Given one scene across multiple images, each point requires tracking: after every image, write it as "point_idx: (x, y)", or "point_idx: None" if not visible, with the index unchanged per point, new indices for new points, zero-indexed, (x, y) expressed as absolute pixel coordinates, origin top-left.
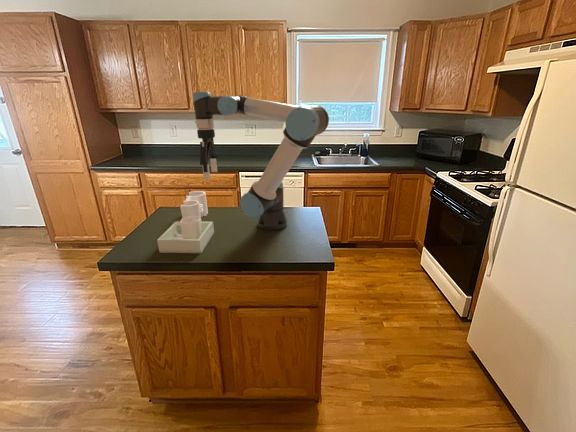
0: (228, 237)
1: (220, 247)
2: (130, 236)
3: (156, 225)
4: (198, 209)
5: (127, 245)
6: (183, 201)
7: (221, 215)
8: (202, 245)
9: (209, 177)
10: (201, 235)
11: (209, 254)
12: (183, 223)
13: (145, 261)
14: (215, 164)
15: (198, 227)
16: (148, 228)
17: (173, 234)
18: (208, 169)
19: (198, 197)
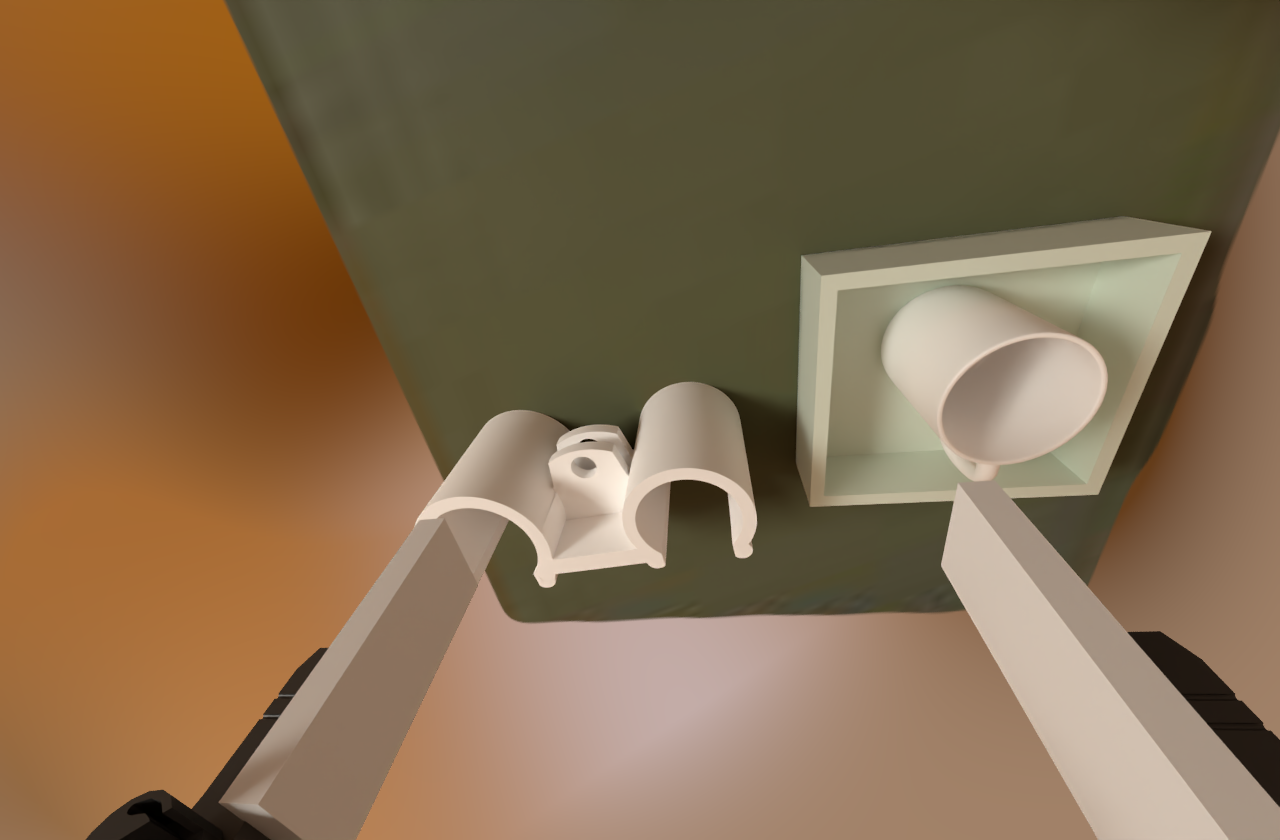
0: (881, 111)
1: (1058, 106)
2: (836, 614)
3: (712, 575)
4: (697, 441)
5: (930, 591)
6: (659, 566)
7: (507, 320)
8: (1105, 227)
9: (1013, 505)
10: (1105, 255)
11: (1161, 147)
12: (1087, 421)
13: (1134, 466)
14: (371, 651)
15: (1033, 316)
16: (748, 590)
17: (885, 463)
18: (1151, 673)
19: (531, 513)
